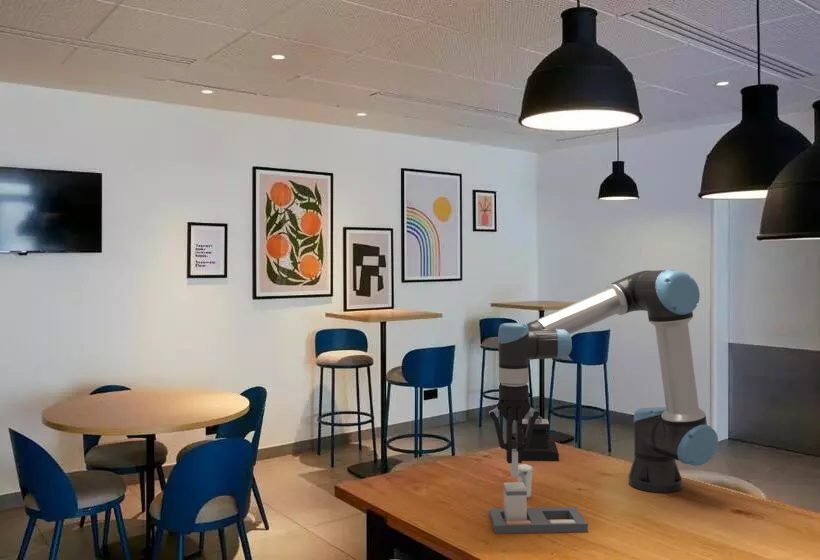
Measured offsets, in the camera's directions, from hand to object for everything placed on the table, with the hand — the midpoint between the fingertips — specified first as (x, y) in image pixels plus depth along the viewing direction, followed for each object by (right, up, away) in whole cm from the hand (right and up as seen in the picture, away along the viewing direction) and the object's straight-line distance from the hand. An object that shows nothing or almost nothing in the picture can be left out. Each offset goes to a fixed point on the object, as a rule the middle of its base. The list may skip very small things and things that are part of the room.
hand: (514, 475), depth 176 cm
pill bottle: (+7, -12, +21) cm, 26 cm away
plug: (0, -13, 0) cm, 13 cm away
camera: (+16, -12, +64) cm, 67 cm away
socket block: (+6, -13, 0) cm, 14 cm away
